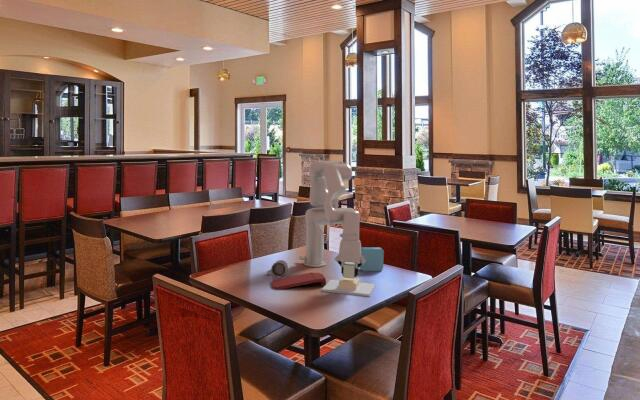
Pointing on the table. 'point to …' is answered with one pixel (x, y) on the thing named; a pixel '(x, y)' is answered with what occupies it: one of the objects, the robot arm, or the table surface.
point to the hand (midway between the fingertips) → (349, 275)
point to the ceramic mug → (278, 268)
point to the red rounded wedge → (298, 280)
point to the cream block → (349, 270)
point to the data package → (372, 259)
